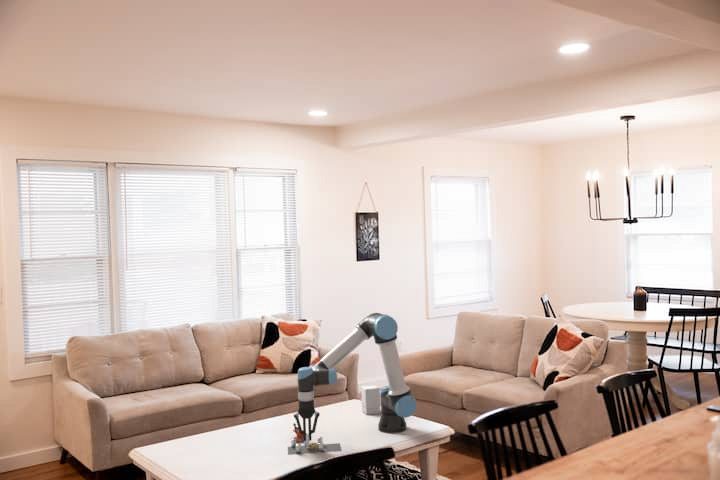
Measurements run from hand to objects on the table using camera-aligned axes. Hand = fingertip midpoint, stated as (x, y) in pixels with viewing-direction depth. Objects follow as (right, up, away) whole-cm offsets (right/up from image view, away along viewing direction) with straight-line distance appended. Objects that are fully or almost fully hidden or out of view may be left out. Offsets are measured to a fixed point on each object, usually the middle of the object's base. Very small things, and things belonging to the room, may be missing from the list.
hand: (307, 447), depth 325 cm
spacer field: (0, -1, 0) cm, 1 cm away
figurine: (-6, -2, +19) cm, 20 cm away
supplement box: (+32, 0, +65) cm, 72 cm away
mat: (+3, -1, 0) cm, 4 cm away
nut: (+3, -1, 0) cm, 3 cm away
